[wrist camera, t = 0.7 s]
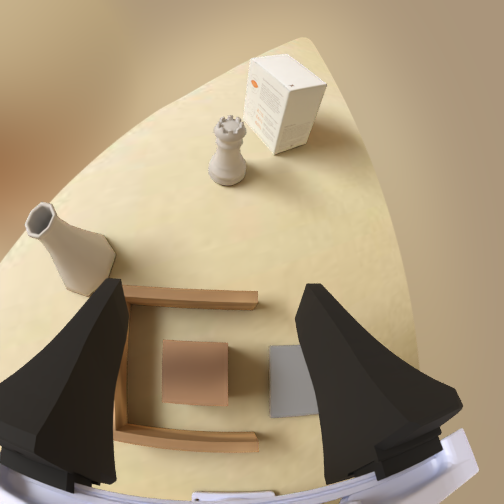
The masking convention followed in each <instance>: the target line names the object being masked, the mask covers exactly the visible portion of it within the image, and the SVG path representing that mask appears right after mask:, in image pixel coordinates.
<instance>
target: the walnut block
mask: <svg viewBox="0 0 504 504" xmlns="http://www.w3.org/2000/svg"><path fill="white" fill-rule="evenodd" d="M162 402H164V403H175V404H188V405H207V406H228V343H216V342H193V341H176V340H163V361H162Z"/></svg>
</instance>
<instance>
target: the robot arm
mask: <svg viewBox="0 0 504 504" xmlns="http://www.w3.org/2000/svg"><path fill="white" fill-rule="evenodd" d="M295 322H296V328H297V333H298V339H299V343H300V346H301V349H302V352H303V355H304V359H305V362H306V365H307V368H308V371H309V374H310V378H311V381H312V384H313V387H314V391H315V395H316V401H317V406H318V412H319V418H320V425H321V432H322V442H323V453H324V477H325V481H326V484H327V485H329V484H332V483H336V482H340V481H343V480H347V479H350V478H353V477H355V478H353V479H350V480H347V481H343V482H340V483H336V484H333V485H329V486H325V487H321V488H316V489H312V490H307V491H303V492H297V493H292V494H286V495H280V496H275V493H274V492H273V491H261V492H235V493H221V492H193V493H192V501H180V500H165V499H155V498H146V497H139V496H132V495H126V494H120V493H115V492H110V491H105V490H101V489H96V488H92V484H95V485H99V486H100V483H105V484H112V483H114V482H115V481H116V480H117V478H116V471H115V461H114V445H113V413H114V397H115V389H116V383H117V378H118V374H119V369H120V364H121V360H122V356H123V351H124V347H125V343H126V338H127V331H128V323H129V312H128V308H127V304H126V300H125V296H124V291H123V287H122V282H121V279H113V278H106V279H105V280H104V281H103V283H102V284H101V285H100V286H99V287H98V288H97V290H96V291H95V292H94V293H93V294H92V296H91V297H90V298H89V299H88V300H87V302H86V303H85V304H84V305H83V306H82V307H81V309H80V310H79V311H78V312H77V313H76V315H75V316H74V317H73V318H72V319H71V320H70V321H69V323H68V324H67V325H66V326H65V327H64V328H63V329H62V330H61V331H60V333H59V334H58V335H57V336H56V337H55V338H54V339H53V340H52V341H51V342H50V343H49V344H48V345H47V346H46V347H45V348H44V349H43V350H42V351H40V352H39V353H38V354H37V355H36V356H35V357H34V358H32V359H31V360H30V361H29V362H28V363H26V364H25V365H24V366H23V367H22V368H20V369H19V370H18V371H16V372H15V373H14V374H13V375H11V376H10V377H8V378H7V379H5V380H4V381H3V382H1V383H0V446H2V449H1V452H0V504H320V503H324V502H328V501H332V500H335V499H339V498H342V497H343V498H342V499H341V500H340V503H339V504H439V503H440V502H442V501H443V500H444V499H445V498H446V497H448V496H449V495H450V494H451V493H453V492H454V491H455V490H456V489H457V488H459V487H460V486H461V485H462V484H464V483H465V482H466V481H467V480H469V479H470V478H471V477H472V476H474V475H475V474H476V473H477V472H478V471H479V469H478V466H477V463H476V460H475V458H474V455H473V452H472V450H471V447H470V444H469V442H468V440H467V437H466V435H465V432H464V430H463V428H461V429H459V430H457V431H456V432H454V433H452V434H450V435H449V436H447V437H445V438H443V439H442V440H439V437H438V435H440V434H441V429H440V426H441V425H442V424H444V423H445V422H447V421H448V420H449V419H451V418H452V417H453V416H455V415H456V414H457V413H458V412H459V411H460V410H461V409H462V407H463V404H462V402H461V400H460V398H459V396H458V394H457V392H456V390H455V389H454V388H452V387H450V386H448V385H446V384H443V383H441V382H439V381H437V380H435V379H433V378H431V377H429V376H427V375H425V374H424V373H422V372H420V371H419V370H417V369H415V368H414V367H412V366H411V365H409V364H408V363H406V362H405V361H403V360H402V359H400V358H399V357H397V356H396V355H395V354H393V353H392V352H391V351H390V350H388V349H387V348H386V347H385V346H383V345H382V344H381V343H380V342H378V341H377V340H376V339H375V338H374V337H373V336H372V335H371V334H370V333H368V332H367V331H366V330H365V329H364V328H363V327H362V326H361V325H360V324H359V323H358V322H357V321H356V320H355V319H354V318H353V317H352V316H351V315H350V314H349V313H348V312H347V311H346V310H345V309H344V308H343V307H342V305H341V304H340V303H339V302H338V301H337V300H336V299H335V298H334V297H333V296H332V295H331V294H330V293H329V292H328V291H327V290H326V288H325V287H324V286H323V285H322V284H306V287H305V290H304V293H303V296H302V299H301V302H300V305H299V308H298V311H297V314H296V317H295ZM195 499H199V501H197V500H195Z"/></svg>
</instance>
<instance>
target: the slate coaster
mask: <svg viewBox="0 0 504 504" xmlns="http://www.w3.org/2000/svg"><path fill="white" fill-rule="evenodd" d="M269 412H270V418H279V417H292V416H303V415H312V414H319V412H318V406H317V401H316V395H315V391H314V387H313V384H312V381H311V378H310V374H309V371H308V368H307V365H306V362H305V359H304V355H303V352H302V349H301V346H300V345H287V346H269Z"/></svg>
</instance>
